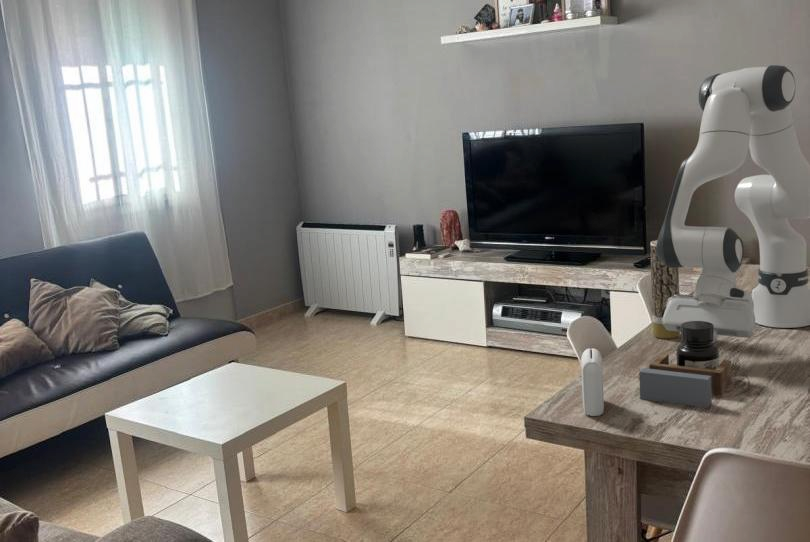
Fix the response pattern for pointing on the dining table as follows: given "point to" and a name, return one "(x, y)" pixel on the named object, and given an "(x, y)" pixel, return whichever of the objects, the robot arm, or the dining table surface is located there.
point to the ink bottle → (697, 346)
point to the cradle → (699, 372)
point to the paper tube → (662, 292)
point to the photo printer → (592, 382)
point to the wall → (675, 387)
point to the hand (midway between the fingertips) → (702, 348)
